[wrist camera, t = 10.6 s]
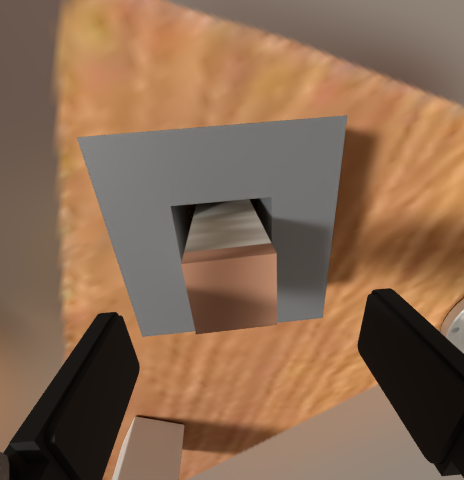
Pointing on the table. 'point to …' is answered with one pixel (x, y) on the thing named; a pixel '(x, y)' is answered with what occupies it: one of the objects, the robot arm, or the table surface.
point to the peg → (229, 268)
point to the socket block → (217, 190)
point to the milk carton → (150, 451)
